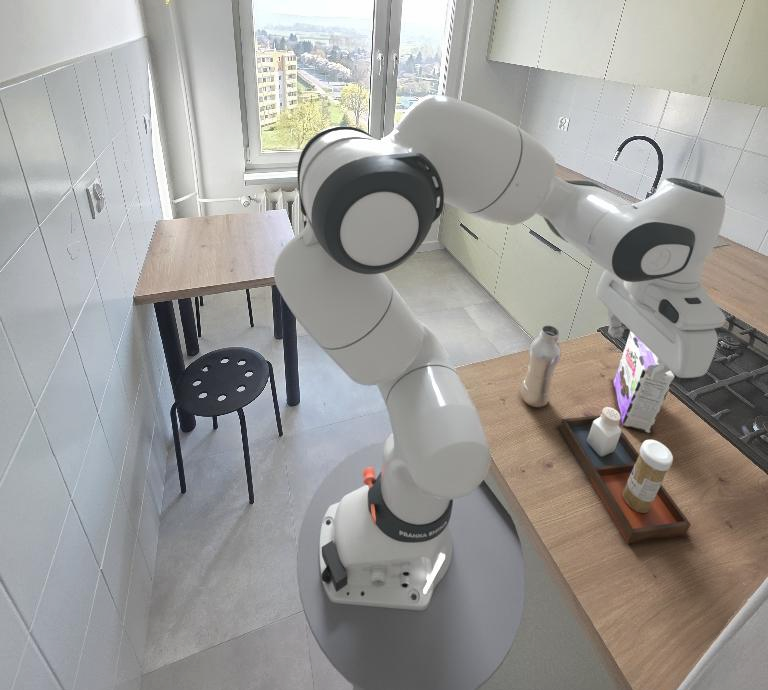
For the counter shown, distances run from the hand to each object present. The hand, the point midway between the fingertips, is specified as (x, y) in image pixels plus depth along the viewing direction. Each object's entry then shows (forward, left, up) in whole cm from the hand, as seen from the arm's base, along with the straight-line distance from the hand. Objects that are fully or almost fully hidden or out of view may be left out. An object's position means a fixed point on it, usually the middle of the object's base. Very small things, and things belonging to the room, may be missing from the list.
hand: (632, 355), depth 68 cm
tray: (+5, 0, -31) cm, 31 cm away
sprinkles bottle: (+5, -6, -30) cm, 31 cm away
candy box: (+20, +15, -31) cm, 39 cm away
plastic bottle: (-2, +19, -31) cm, 36 cm away
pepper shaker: (+5, +5, -30) cm, 31 cm away
